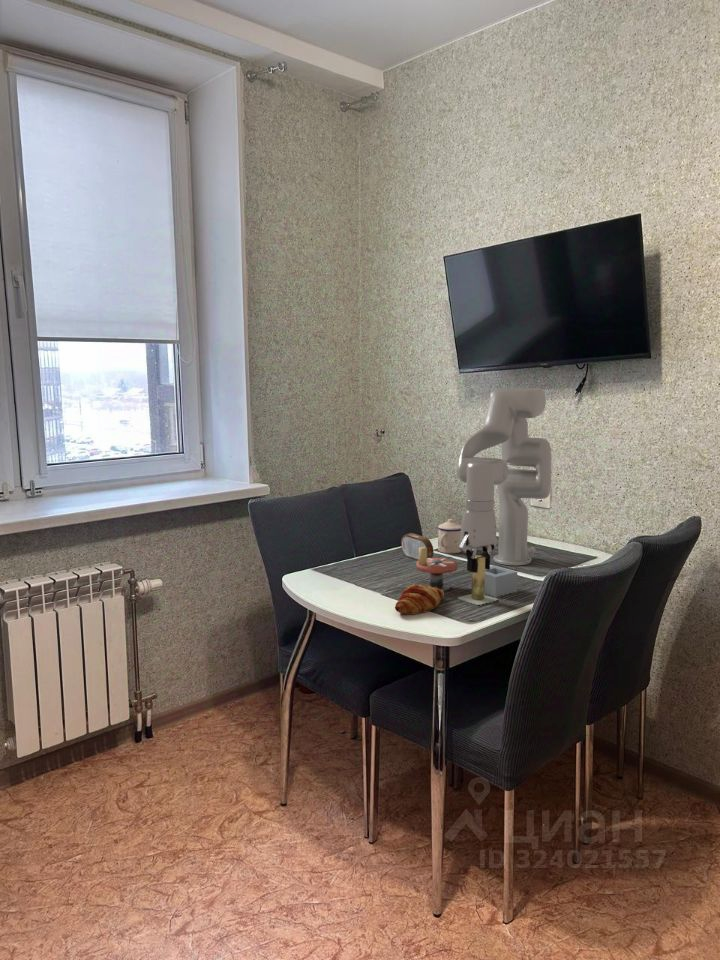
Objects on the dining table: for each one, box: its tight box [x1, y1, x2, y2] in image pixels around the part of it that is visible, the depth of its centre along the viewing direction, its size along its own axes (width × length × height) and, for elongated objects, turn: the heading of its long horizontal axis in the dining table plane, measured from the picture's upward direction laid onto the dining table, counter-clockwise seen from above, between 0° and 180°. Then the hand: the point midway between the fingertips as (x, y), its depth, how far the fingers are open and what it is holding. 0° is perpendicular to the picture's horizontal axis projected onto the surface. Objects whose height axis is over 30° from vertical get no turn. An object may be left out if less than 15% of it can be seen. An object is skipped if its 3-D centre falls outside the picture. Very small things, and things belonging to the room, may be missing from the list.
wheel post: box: [423, 573, 451, 593], centre depth 210 cm, size 8×8×6 cm
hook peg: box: [471, 554, 486, 600], centre depth 199 cm, size 4×4×12 cm
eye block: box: [485, 565, 518, 598], centre depth 207 cm, size 9×9×6 cm
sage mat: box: [457, 593, 499, 606], centre depth 199 cm, size 8×8×1 cm
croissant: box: [394, 584, 445, 615], centre depth 193 cm, size 21×10×8 cm, turn 141°
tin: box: [400, 532, 435, 561], centre depth 244 cm, size 15×3×8 cm, turn 35°
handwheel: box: [415, 547, 458, 574], centre depth 209 cm, size 12×12×6 cm
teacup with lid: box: [437, 518, 462, 554], centre depth 254 cm, size 12×9×12 cm
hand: (478, 569), depth 198 cm, fingers open, 4 cm apart
